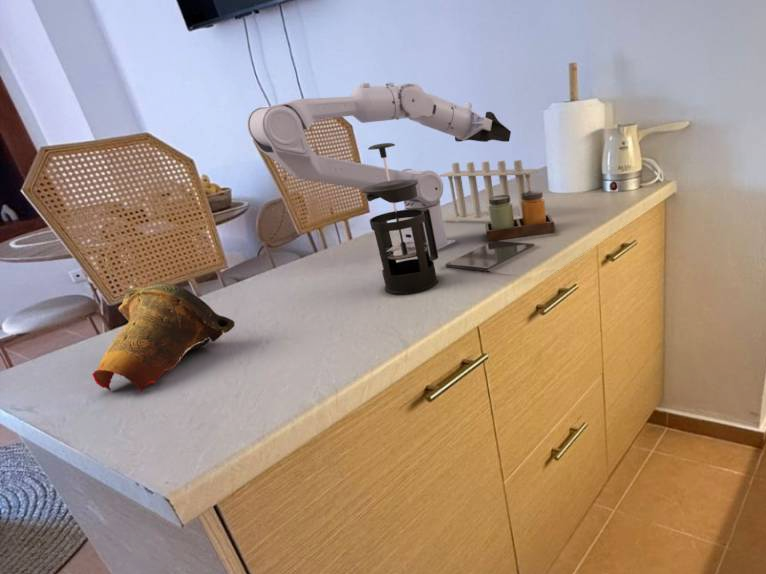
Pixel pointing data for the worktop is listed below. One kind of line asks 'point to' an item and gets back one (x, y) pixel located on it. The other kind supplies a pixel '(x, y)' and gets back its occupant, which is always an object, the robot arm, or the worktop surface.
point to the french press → (409, 272)
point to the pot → (158, 333)
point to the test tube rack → (488, 187)
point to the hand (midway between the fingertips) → (498, 136)
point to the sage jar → (501, 212)
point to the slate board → (488, 256)
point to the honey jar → (533, 208)
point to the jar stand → (520, 230)
